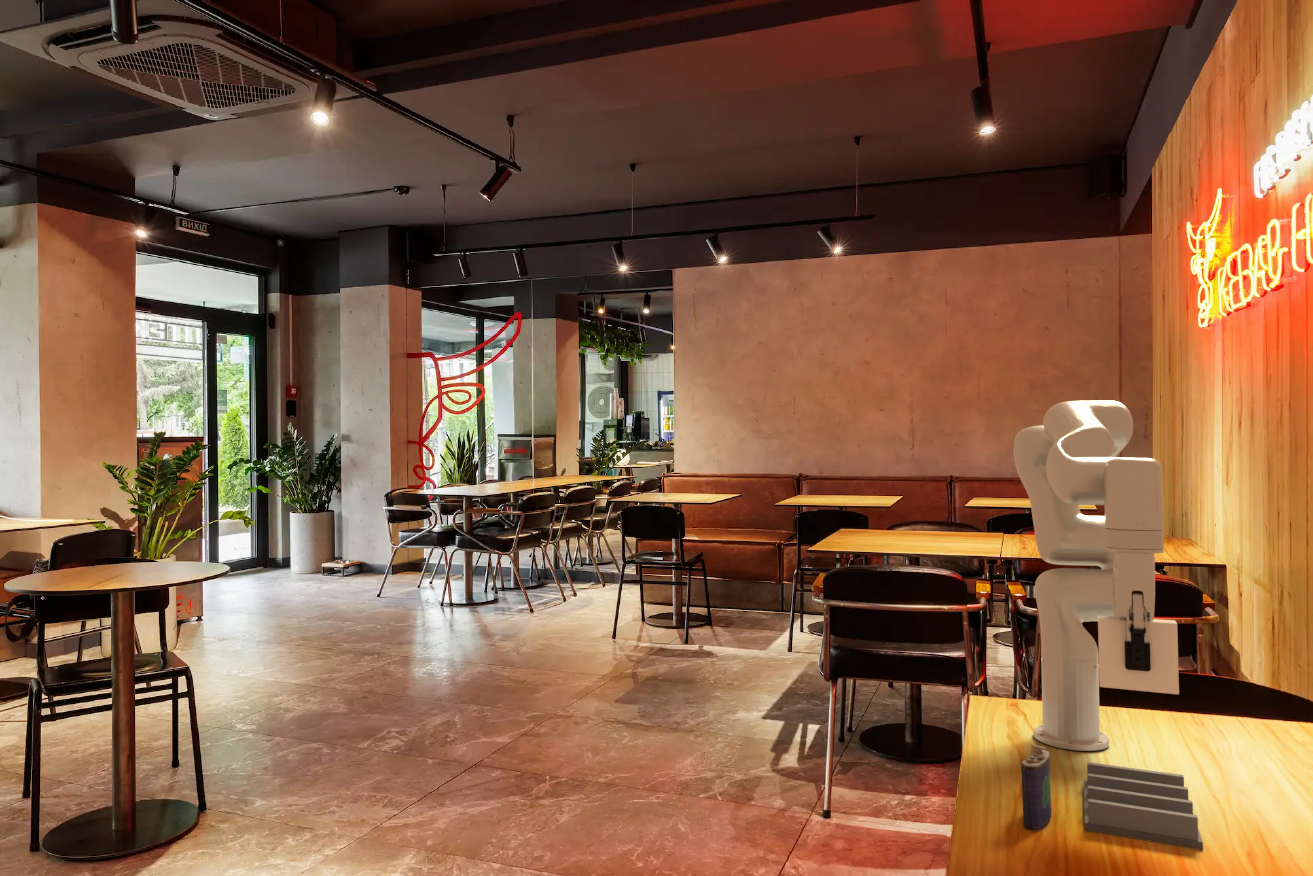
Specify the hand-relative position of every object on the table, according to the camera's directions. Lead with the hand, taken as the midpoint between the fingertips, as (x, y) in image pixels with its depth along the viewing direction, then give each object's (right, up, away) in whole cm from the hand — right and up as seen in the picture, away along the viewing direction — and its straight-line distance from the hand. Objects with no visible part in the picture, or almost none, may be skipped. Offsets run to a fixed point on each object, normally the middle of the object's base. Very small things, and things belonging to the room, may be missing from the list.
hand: (1136, 666), depth 126 cm
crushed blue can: (-16, -22, -2) cm, 27 cm away
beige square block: (0, -3, 0) cm, 3 cm away
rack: (0, -22, -1) cm, 22 cm away
